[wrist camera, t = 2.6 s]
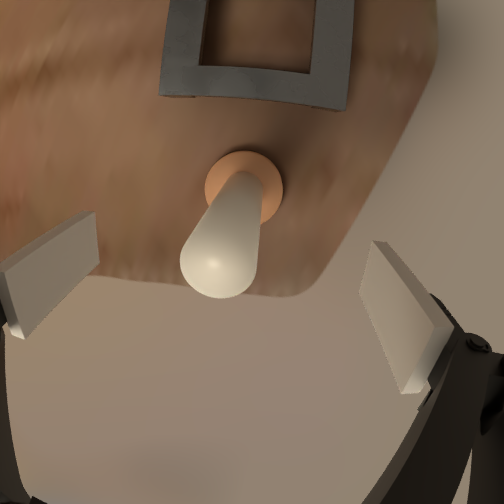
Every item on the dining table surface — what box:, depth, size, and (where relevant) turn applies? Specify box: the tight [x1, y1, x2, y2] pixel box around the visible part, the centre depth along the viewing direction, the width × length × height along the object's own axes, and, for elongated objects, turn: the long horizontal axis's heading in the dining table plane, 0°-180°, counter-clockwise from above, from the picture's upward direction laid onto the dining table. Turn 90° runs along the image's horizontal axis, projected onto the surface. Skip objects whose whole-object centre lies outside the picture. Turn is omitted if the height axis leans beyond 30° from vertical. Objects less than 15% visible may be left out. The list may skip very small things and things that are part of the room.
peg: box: [180, 150, 283, 298], centre depth 18 cm, size 6×6×14 cm
